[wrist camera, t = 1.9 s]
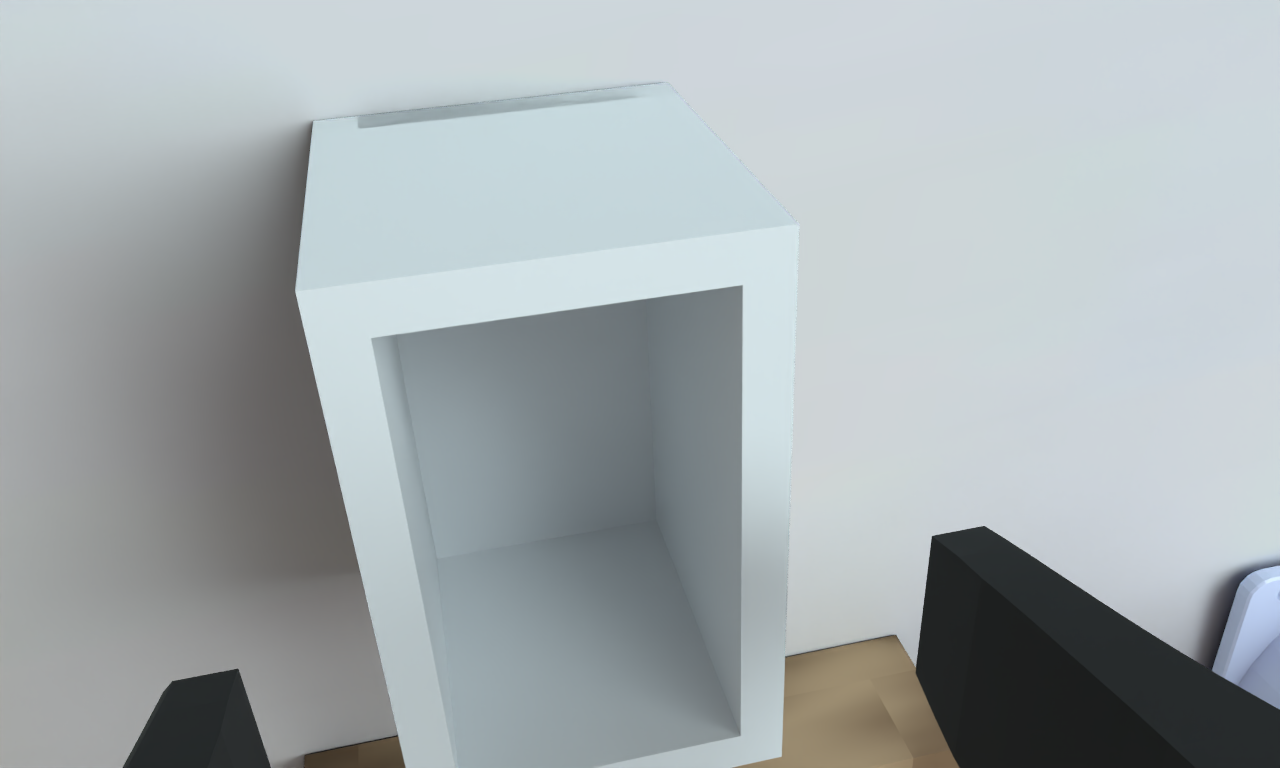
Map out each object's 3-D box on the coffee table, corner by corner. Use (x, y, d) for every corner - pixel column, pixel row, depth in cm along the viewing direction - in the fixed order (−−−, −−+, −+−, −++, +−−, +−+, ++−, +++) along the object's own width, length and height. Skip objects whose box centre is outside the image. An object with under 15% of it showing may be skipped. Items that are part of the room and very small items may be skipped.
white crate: (668, 81, 16) (798, 224, 11) (681, 520, 20) (781, 757, 15) (313, 120, 15) (295, 291, 10) (404, 570, 19) (421, 835, 14)
